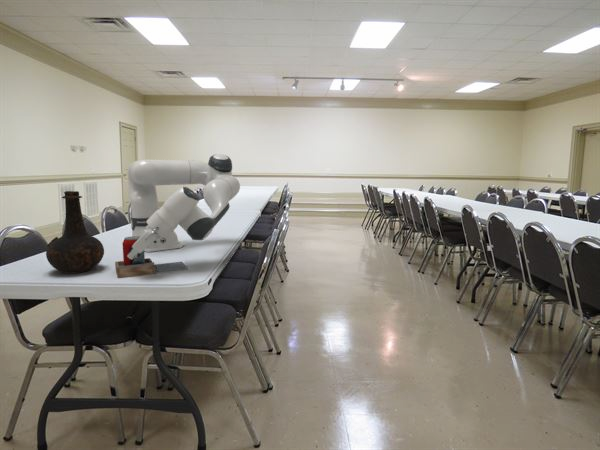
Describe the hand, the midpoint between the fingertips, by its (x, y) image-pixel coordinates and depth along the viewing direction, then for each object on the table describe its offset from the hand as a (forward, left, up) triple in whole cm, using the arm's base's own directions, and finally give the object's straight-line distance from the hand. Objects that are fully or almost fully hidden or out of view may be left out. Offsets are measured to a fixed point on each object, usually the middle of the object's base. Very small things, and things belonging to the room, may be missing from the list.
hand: (131, 254), depth 139 cm
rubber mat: (-13, 0, -6) cm, 14 cm away
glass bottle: (+17, -12, -6) cm, 22 cm away
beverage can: (-1, 0, -6) cm, 6 cm away
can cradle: (-1, 0, -6) cm, 6 cm away
